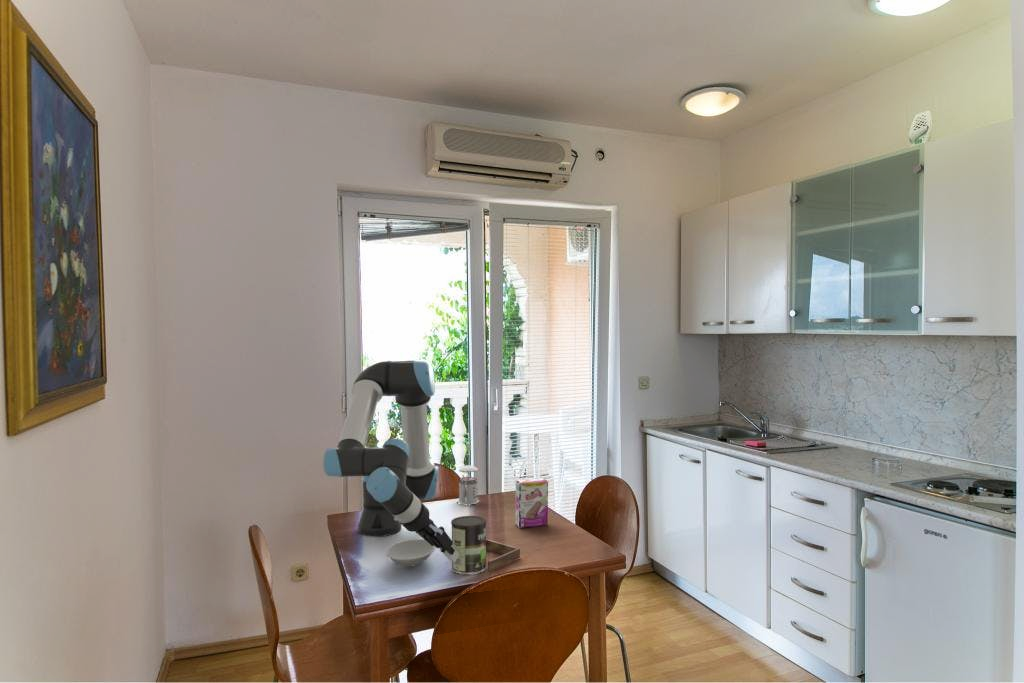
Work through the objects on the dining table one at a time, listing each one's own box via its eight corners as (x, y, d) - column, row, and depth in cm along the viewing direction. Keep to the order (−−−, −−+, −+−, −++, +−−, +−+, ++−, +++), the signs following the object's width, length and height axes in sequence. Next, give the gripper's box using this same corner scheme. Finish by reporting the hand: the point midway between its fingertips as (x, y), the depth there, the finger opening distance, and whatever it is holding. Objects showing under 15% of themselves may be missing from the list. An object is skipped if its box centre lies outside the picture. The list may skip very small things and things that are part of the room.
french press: (483, 499, 247) (482, 440, 247) (475, 507, 235) (474, 445, 236) (460, 498, 249) (460, 439, 249) (452, 505, 238) (451, 444, 238)
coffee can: (490, 563, 176) (489, 516, 176) (481, 576, 166) (481, 527, 166) (457, 560, 178) (457, 514, 178) (446, 573, 168) (446, 524, 168)
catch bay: (455, 560, 178) (455, 550, 178) (486, 548, 188) (486, 538, 188) (489, 572, 169) (489, 561, 169) (519, 558, 180) (519, 548, 180)
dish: (400, 553, 184) (400, 537, 185) (443, 556, 182) (443, 540, 182) (375, 574, 167) (375, 557, 167) (423, 579, 164) (423, 561, 164)
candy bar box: (519, 529, 208) (519, 483, 208) (515, 524, 213) (514, 479, 213) (548, 525, 211) (548, 480, 211) (543, 521, 216) (543, 477, 216)
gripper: (386, 519, 156) (433, 564, 169) (419, 529, 148) (465, 575, 160) (402, 495, 160) (446, 541, 173) (434, 504, 152) (478, 551, 165)
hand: (455, 557), depth 167 cm, fingers closed
